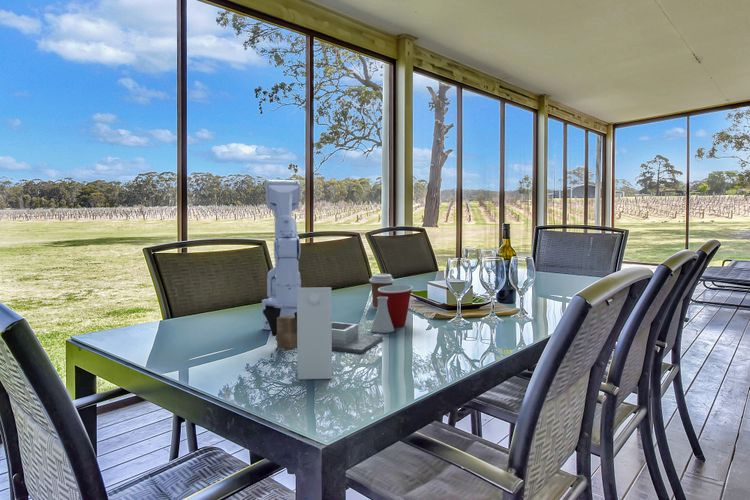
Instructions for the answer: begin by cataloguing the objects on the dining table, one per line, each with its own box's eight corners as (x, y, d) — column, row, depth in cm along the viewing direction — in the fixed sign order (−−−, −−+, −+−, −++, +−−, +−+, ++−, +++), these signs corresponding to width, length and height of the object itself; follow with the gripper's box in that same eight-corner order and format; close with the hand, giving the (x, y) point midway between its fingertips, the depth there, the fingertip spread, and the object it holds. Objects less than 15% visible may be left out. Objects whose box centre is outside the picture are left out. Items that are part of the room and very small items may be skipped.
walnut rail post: (277, 348, 129) (276, 317, 128) (285, 344, 133) (285, 314, 132) (290, 350, 127) (290, 319, 127) (298, 346, 131) (298, 316, 130)
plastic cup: (372, 323, 158) (372, 285, 157) (402, 320, 162) (403, 283, 161) (386, 330, 148) (386, 290, 147) (418, 327, 152) (419, 288, 151)
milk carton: (299, 369, 112) (299, 285, 110) (331, 368, 113) (331, 284, 111) (297, 380, 105) (296, 290, 103) (331, 379, 106) (331, 290, 104)
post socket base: (292, 345, 132) (292, 328, 132) (318, 333, 145) (318, 317, 144) (361, 353, 124) (361, 335, 124) (382, 340, 137) (382, 324, 137)
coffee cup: (370, 305, 187) (370, 273, 186) (394, 305, 186) (395, 273, 185) (367, 309, 178) (367, 276, 177) (393, 310, 177) (393, 276, 176)
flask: (392, 334, 144) (392, 300, 143) (367, 333, 145) (367, 299, 144) (396, 328, 151) (396, 295, 150) (372, 327, 152) (372, 294, 151)
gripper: (254, 284, 128) (255, 337, 129) (303, 288, 122) (304, 343, 123) (270, 281, 134) (271, 331, 135) (318, 284, 129) (318, 336, 130)
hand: (287, 336), depth 130 cm, fingers open, 7 cm apart
